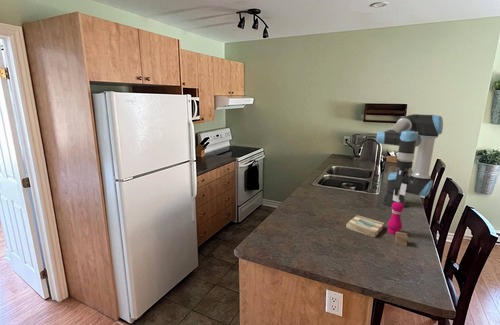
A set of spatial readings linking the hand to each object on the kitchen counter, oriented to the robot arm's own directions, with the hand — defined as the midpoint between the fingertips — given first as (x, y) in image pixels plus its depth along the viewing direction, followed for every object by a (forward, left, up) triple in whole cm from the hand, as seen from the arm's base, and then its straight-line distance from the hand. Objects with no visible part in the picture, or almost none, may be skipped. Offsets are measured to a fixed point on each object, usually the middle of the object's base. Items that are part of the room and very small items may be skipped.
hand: (398, 197), depth 148 cm
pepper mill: (0, 0, -21) cm, 21 cm away
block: (+10, +6, -21) cm, 24 cm away
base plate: (+6, -14, -21) cm, 26 cm away
